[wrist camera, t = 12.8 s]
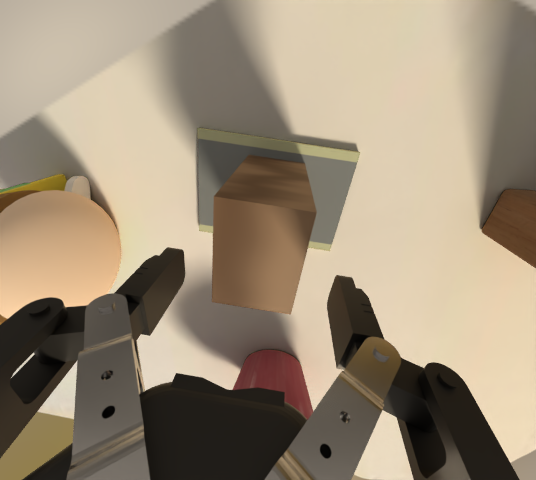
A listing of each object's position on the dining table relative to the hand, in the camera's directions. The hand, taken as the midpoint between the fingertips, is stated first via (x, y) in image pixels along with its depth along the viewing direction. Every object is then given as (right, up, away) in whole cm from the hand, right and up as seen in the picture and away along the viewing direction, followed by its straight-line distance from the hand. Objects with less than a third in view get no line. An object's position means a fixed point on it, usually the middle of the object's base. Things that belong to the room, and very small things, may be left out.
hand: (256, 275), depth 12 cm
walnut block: (+1, +6, +10) cm, 12 cm away
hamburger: (-19, +3, +15) cm, 24 cm away
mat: (+1, +6, +11) cm, 12 cm away
